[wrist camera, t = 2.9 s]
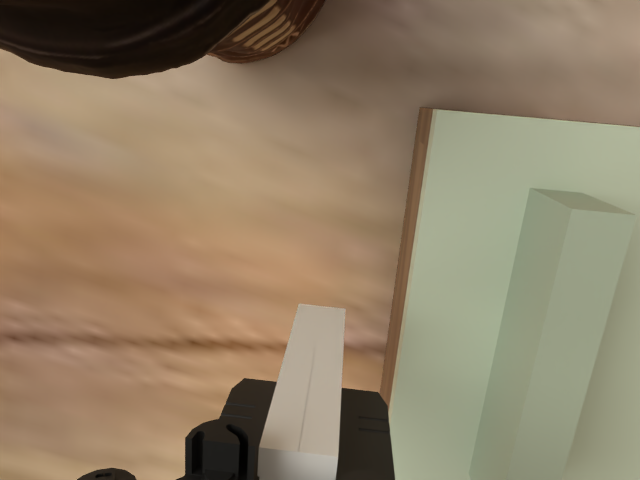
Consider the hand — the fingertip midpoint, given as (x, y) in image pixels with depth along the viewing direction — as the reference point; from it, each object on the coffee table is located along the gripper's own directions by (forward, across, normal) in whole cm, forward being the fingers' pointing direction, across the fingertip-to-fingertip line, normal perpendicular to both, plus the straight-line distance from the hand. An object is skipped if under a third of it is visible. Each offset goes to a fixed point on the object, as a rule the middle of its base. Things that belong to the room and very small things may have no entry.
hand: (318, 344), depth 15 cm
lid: (+2, +10, 0) cm, 10 cm away
